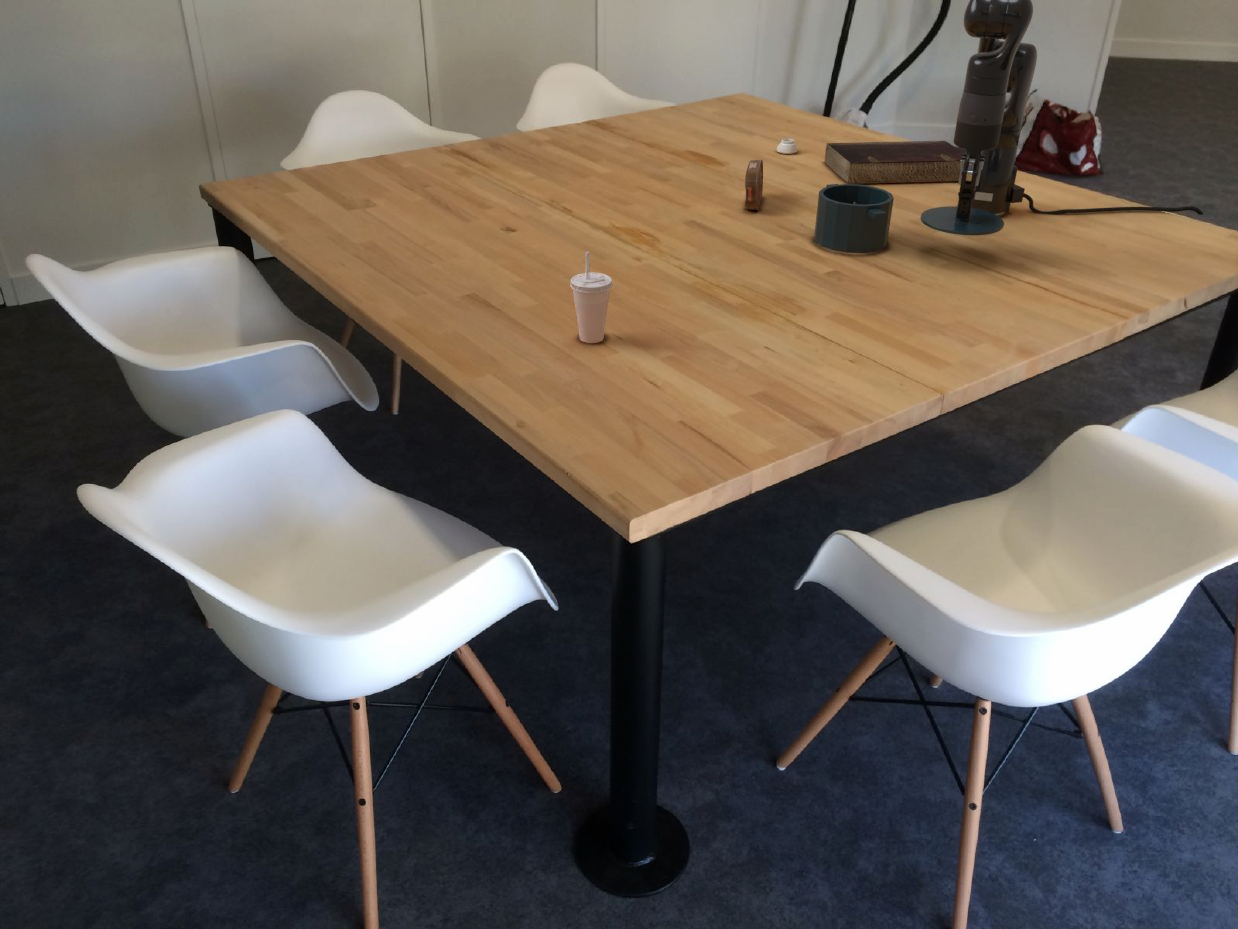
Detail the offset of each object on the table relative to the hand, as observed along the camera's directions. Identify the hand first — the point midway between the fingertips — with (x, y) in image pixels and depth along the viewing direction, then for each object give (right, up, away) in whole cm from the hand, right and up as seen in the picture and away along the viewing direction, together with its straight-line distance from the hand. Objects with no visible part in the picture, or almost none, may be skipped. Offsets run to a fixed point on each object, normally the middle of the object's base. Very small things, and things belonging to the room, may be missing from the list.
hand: (962, 215), depth 192 cm
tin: (-34, +10, +33) cm, 48 cm away
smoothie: (-66, -26, -27) cm, 76 cm away
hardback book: (+2, +23, +54) cm, 59 cm away
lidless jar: (-21, +31, +69) cm, 78 cm away
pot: (-18, -3, +12) cm, 22 cm away
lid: (0, -1, +1) cm, 1 cm away
